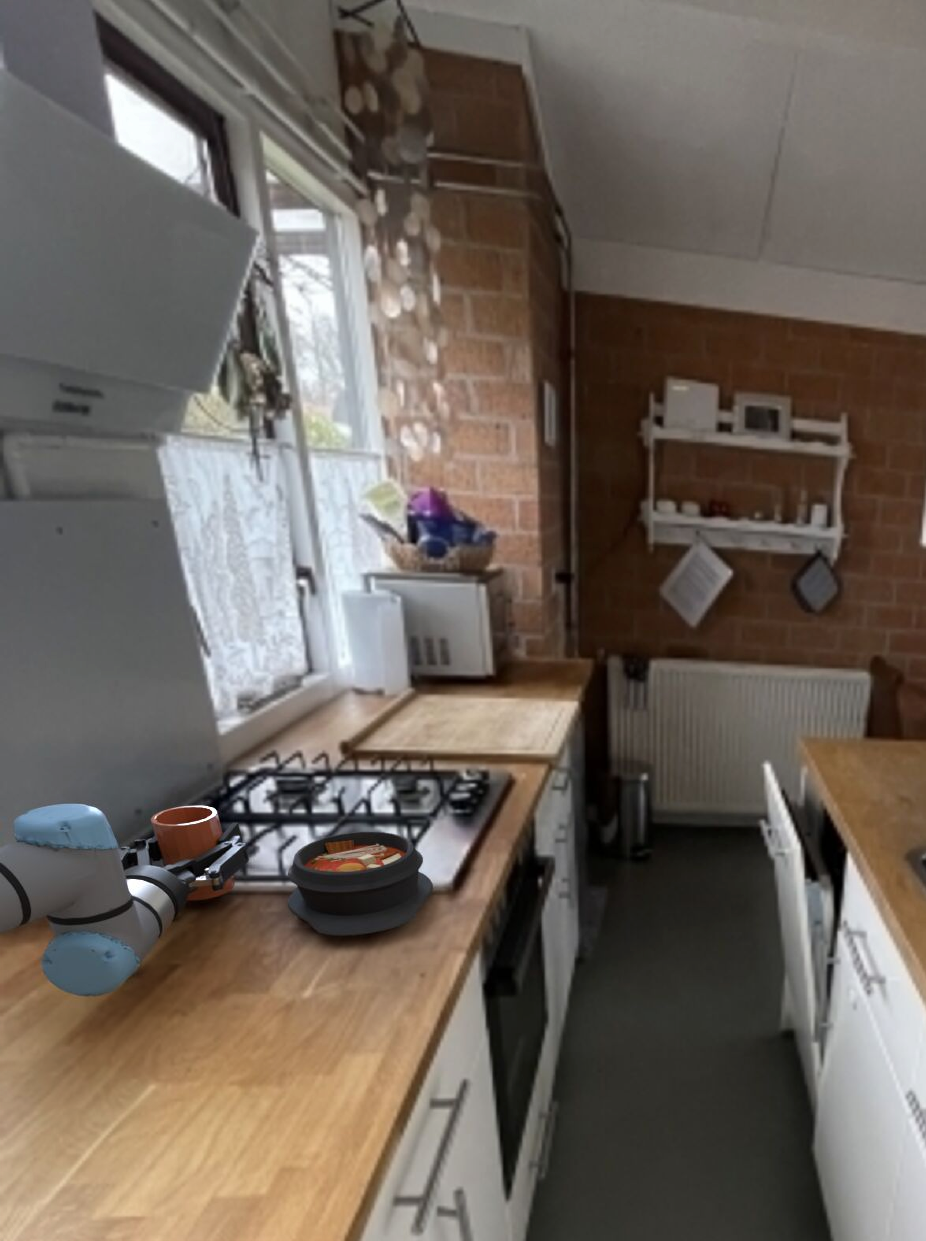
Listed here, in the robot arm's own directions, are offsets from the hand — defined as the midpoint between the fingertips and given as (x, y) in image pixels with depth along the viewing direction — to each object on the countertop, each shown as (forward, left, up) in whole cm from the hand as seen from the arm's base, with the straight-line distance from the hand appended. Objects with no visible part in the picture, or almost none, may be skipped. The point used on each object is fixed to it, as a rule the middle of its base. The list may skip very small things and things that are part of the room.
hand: (204, 832), depth 123 cm
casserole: (+19, +14, -8) cm, 25 cm away
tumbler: (+4, -2, -7) cm, 8 cm away
